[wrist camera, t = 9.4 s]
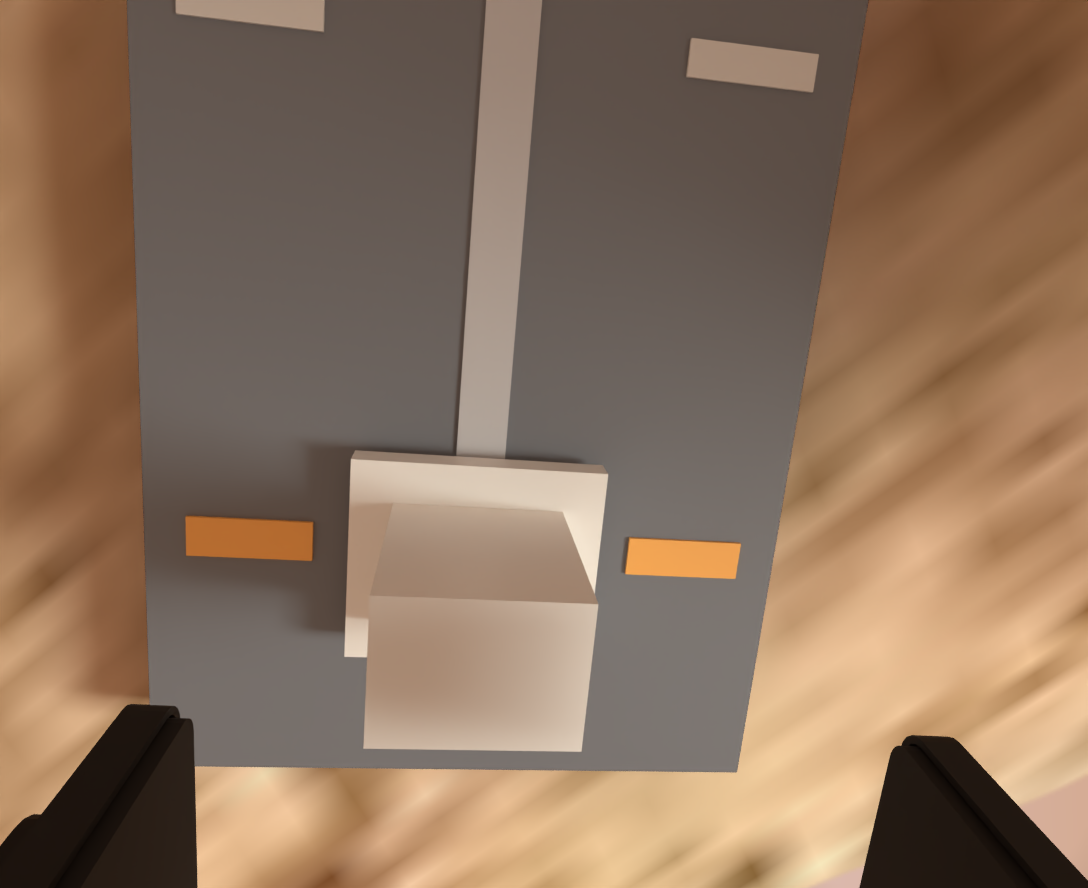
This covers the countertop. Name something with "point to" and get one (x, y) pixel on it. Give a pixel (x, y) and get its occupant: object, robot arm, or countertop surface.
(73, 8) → the countertop surface
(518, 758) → the console
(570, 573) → the fader
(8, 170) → the countertop surface
